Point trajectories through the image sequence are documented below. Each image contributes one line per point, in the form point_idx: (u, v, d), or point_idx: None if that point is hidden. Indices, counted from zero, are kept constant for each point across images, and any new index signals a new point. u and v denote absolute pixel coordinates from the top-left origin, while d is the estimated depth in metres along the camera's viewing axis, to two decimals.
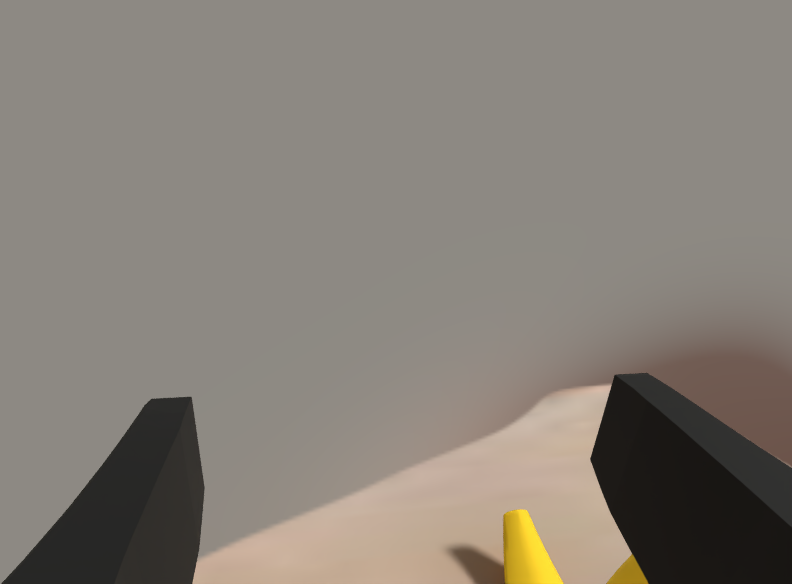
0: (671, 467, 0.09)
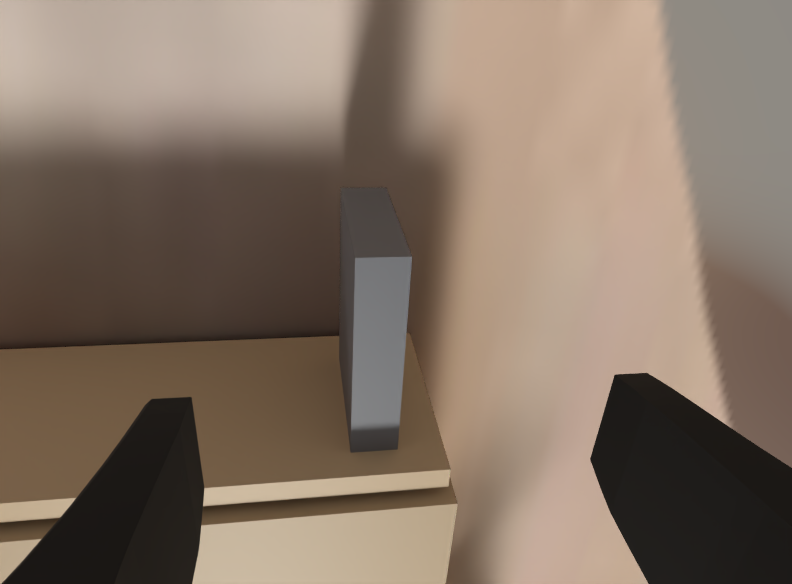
0: (671, 468, 0.09)
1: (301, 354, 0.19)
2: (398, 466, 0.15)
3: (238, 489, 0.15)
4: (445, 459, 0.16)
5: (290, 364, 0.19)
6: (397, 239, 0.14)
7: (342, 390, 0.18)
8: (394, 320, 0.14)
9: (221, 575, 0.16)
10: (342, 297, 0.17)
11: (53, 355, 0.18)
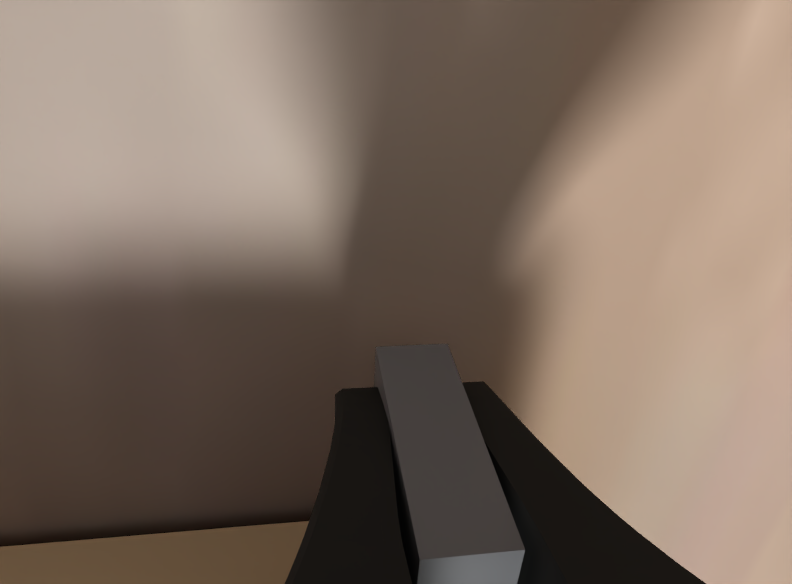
0: None
1: None
2: None
3: None
4: None
5: None
6: (488, 492, 0.08)
7: None
8: None
9: None
10: None
11: None
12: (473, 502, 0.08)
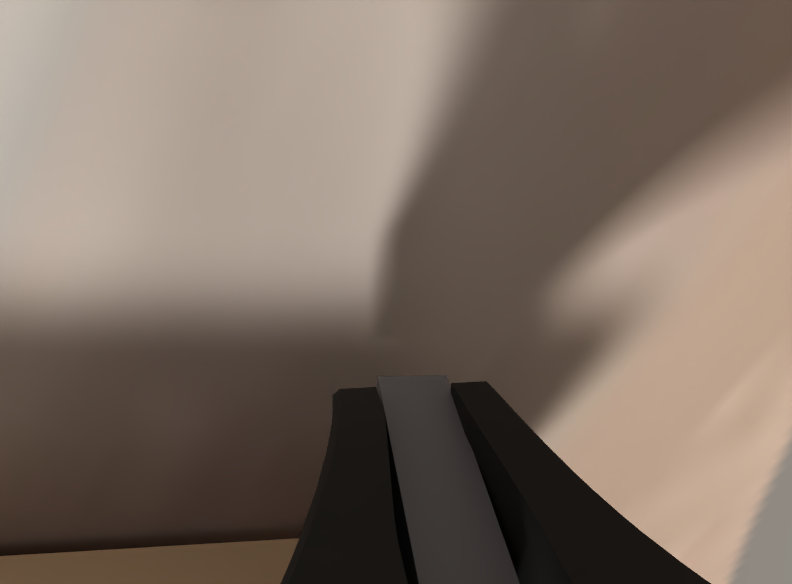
0: (485, 482, 0.09)
1: None
2: None
3: None
4: None
5: None
6: (485, 527, 0.08)
7: None
8: None
9: None
10: None
11: None
12: (471, 537, 0.08)
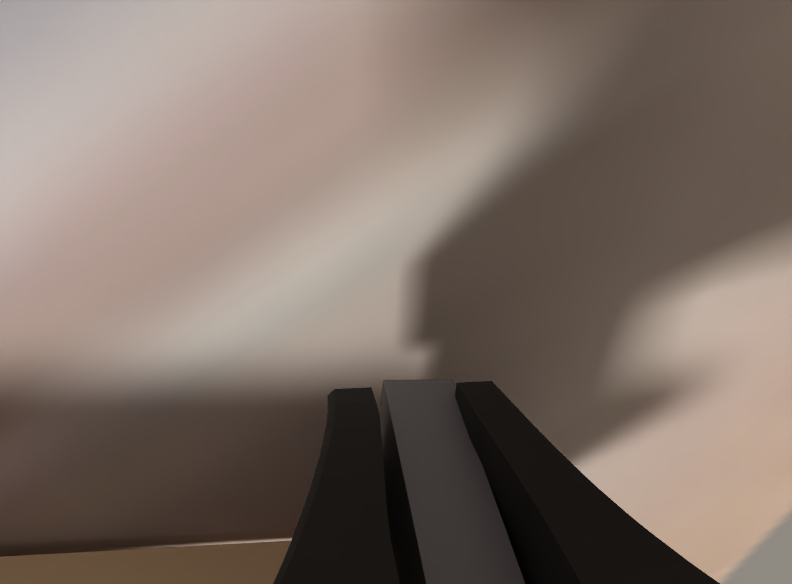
0: (490, 481, 0.09)
1: None
2: None
3: None
4: None
5: None
6: (492, 531, 0.08)
7: None
8: None
9: None
10: None
11: None
12: (478, 541, 0.08)
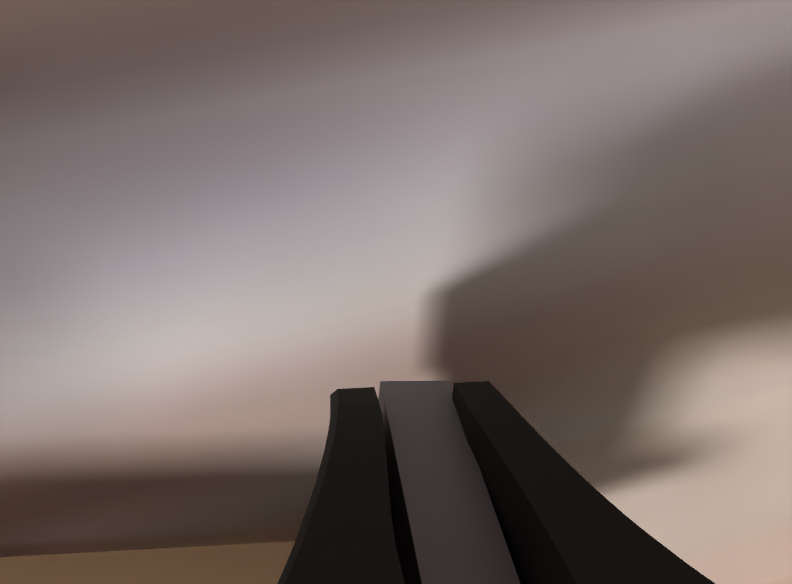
0: (487, 482, 0.09)
1: None
2: None
3: None
4: None
5: None
6: (488, 532, 0.08)
7: None
8: None
9: None
10: None
11: None
12: (474, 542, 0.08)
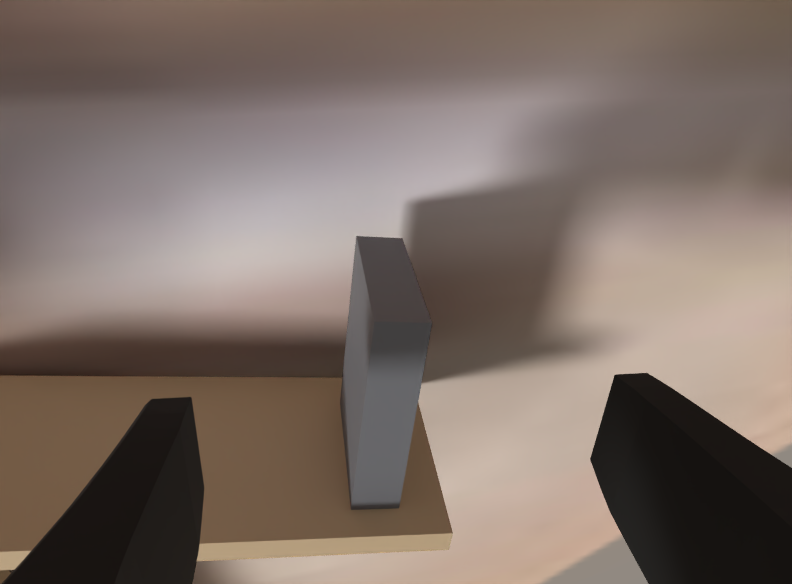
0: (671, 467, 0.09)
1: (302, 396, 0.19)
2: (399, 527, 0.15)
3: (234, 546, 0.14)
4: (447, 521, 0.15)
5: (290, 407, 0.18)
6: (416, 301, 0.14)
7: (343, 439, 0.17)
8: (408, 383, 0.14)
9: None
10: (350, 346, 0.17)
11: (44, 385, 0.18)
12: (406, 303, 0.13)
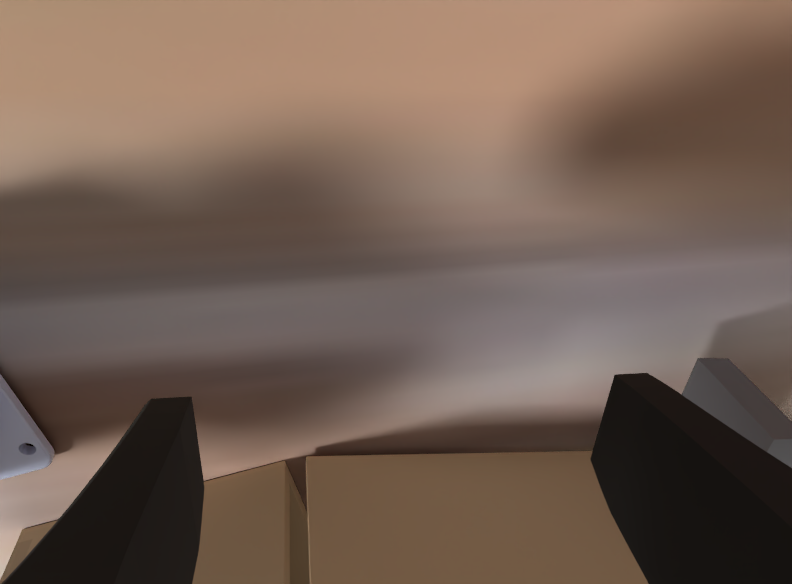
0: (671, 467, 0.09)
1: None
2: None
3: None
4: None
5: None
6: (784, 419, 0.19)
7: None
8: None
9: None
10: None
11: (436, 462, 0.24)
12: (781, 422, 0.19)
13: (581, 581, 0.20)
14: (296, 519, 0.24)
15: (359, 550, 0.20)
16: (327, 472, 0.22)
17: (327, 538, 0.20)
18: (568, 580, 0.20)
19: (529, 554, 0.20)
